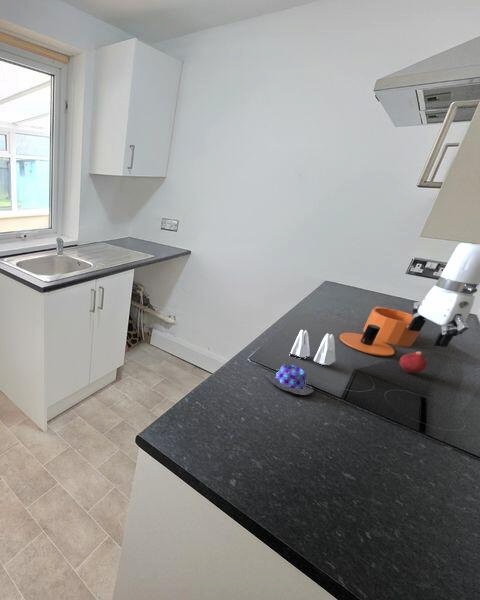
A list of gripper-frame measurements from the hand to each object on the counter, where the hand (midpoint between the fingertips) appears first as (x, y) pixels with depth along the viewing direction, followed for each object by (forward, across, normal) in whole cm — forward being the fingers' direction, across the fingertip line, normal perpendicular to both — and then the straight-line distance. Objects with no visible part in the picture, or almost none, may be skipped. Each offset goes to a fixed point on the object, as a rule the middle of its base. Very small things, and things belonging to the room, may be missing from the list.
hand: (425, 337), depth 96 cm
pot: (+13, +27, -11) cm, 32 cm away
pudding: (+14, -17, +42) cm, 47 cm away
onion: (+13, 0, 0) cm, 13 cm away
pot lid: (+12, +16, +3) cm, 20 cm away
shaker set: (+13, -1, +29) cm, 32 cm away
